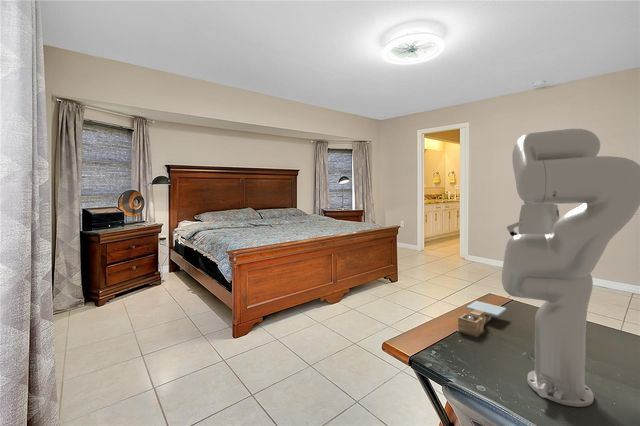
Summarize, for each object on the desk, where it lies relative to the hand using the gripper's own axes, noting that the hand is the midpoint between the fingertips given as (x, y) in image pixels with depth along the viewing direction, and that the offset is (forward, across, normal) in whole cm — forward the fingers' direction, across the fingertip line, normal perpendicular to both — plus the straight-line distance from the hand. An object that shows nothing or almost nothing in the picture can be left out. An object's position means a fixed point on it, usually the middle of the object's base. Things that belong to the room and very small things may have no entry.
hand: (538, 254), depth 93 cm
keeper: (+28, +18, -7) cm, 34 cm away
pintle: (+28, +18, +8) cm, 34 cm away
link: (+28, +17, +2) cm, 33 cm away
